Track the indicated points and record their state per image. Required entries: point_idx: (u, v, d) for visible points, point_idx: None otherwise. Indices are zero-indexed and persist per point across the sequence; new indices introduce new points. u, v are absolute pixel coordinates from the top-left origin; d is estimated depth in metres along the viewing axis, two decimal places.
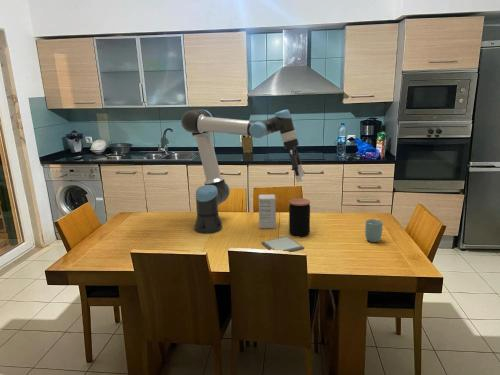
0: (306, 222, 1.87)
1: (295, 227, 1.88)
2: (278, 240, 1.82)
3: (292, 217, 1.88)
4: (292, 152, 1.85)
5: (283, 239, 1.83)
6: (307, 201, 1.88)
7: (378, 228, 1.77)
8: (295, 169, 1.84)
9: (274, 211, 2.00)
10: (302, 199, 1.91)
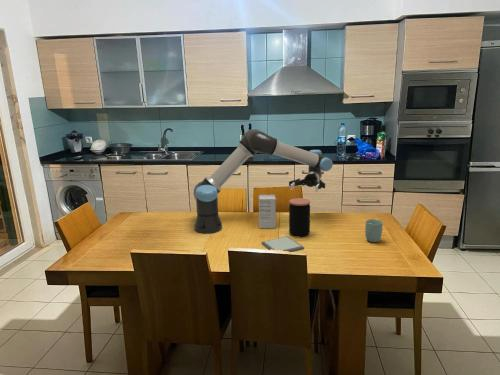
0: (306, 222, 1.87)
1: (295, 227, 1.88)
2: (278, 240, 1.82)
3: (292, 217, 1.88)
4: None
5: (283, 239, 1.83)
6: (307, 201, 1.88)
7: (378, 228, 1.77)
8: (322, 186, 2.00)
9: (274, 211, 2.00)
10: (302, 199, 1.91)
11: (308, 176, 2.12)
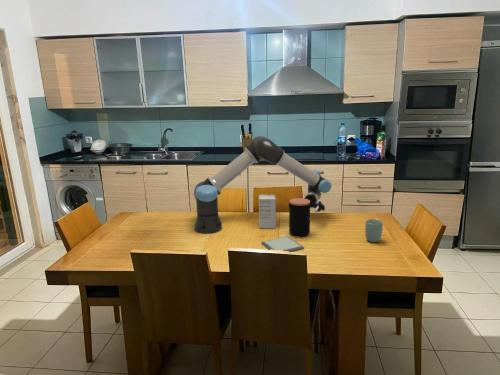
0: (306, 222, 1.87)
1: (295, 227, 1.88)
2: (278, 240, 1.82)
3: (292, 217, 1.88)
4: None
5: (283, 239, 1.83)
6: (307, 201, 1.88)
7: (378, 228, 1.77)
8: (321, 208, 2.02)
9: (274, 211, 2.00)
10: (302, 199, 1.91)
11: (307, 197, 2.14)
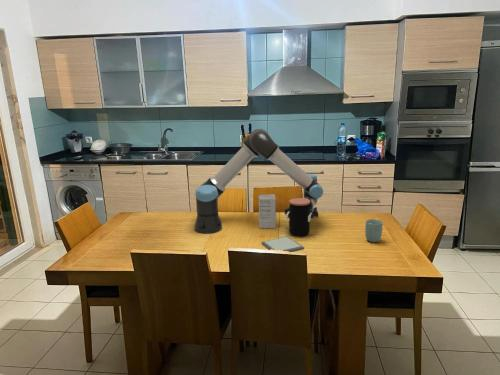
0: (306, 222, 1.87)
1: (295, 227, 1.88)
2: (278, 240, 1.82)
3: (292, 217, 1.88)
4: None
5: (283, 239, 1.83)
6: (307, 201, 1.88)
7: (378, 228, 1.77)
8: (314, 215, 1.91)
9: (274, 211, 2.00)
10: (302, 199, 1.91)
11: None
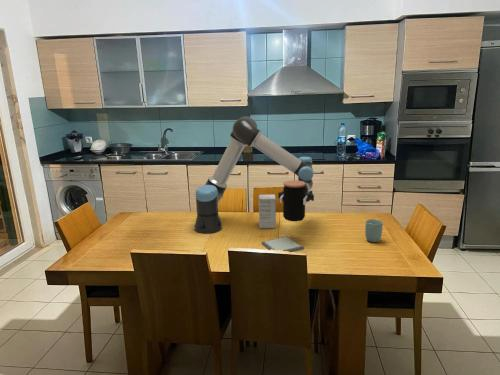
0: (301, 205, 1.76)
1: (289, 210, 1.77)
2: (278, 240, 1.82)
3: (286, 200, 1.76)
4: None
5: (283, 239, 1.83)
6: (302, 183, 1.77)
7: (378, 228, 1.77)
8: (310, 198, 1.80)
9: (274, 211, 2.00)
10: (297, 181, 1.80)
11: None
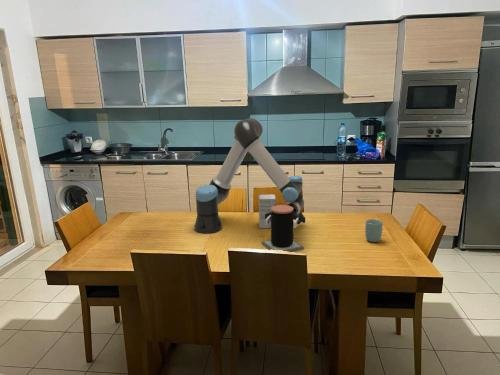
0: (289, 231, 1.72)
1: (277, 236, 1.72)
2: None
3: (274, 226, 1.72)
4: None
5: None
6: (290, 208, 1.72)
7: (378, 228, 1.77)
8: (301, 220, 1.75)
9: None
10: (285, 206, 1.76)
11: None
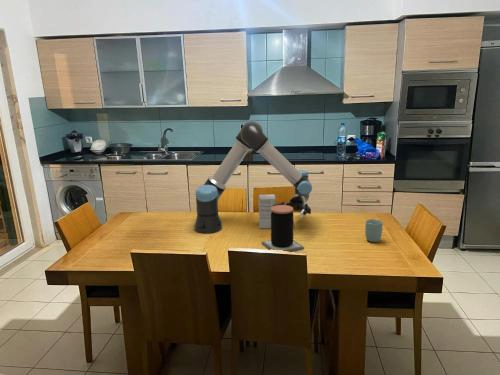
0: (289, 231, 1.72)
1: (277, 236, 1.72)
2: None
3: (274, 226, 1.72)
4: None
5: None
6: (290, 208, 1.72)
7: (378, 228, 1.77)
8: (307, 211, 1.87)
9: None
10: (285, 206, 1.76)
11: (293, 199, 1.99)
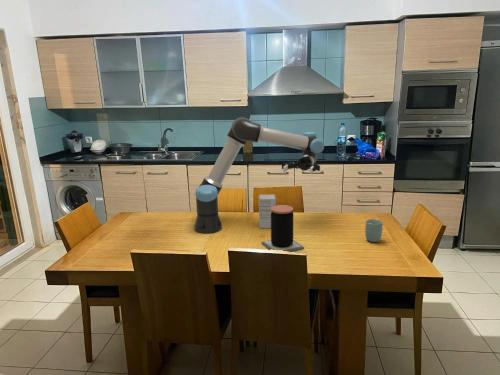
0: (289, 231, 1.72)
1: (277, 236, 1.72)
2: None
3: (274, 226, 1.72)
4: None
5: None
6: (290, 208, 1.72)
7: (378, 228, 1.77)
8: (316, 168, 1.88)
9: None
10: (285, 206, 1.76)
11: (302, 159, 2.01)
